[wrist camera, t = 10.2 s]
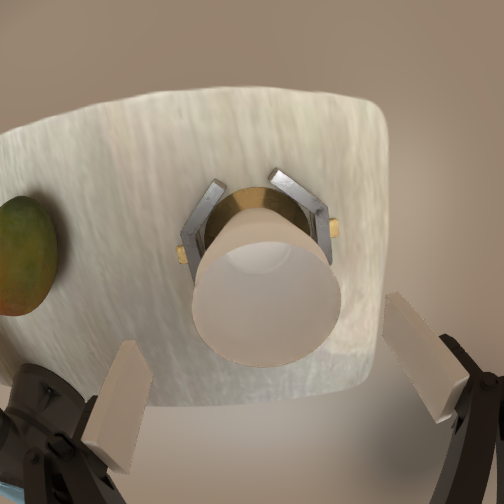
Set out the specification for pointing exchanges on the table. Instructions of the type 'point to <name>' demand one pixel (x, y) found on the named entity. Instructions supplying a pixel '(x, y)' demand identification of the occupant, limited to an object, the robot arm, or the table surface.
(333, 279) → the cup
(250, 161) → the table surface
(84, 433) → the robot arm
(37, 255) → the fruit
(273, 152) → the table surface
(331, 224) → the socket
